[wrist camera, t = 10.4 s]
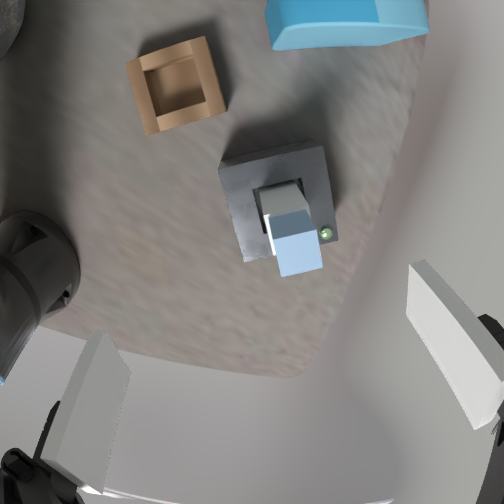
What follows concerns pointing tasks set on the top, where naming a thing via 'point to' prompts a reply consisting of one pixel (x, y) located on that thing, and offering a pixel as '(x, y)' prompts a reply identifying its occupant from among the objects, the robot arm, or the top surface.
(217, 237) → the top surface
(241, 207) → the port
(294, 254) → the plug
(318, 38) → the data package
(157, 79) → the frame
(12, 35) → the grey metal pot
